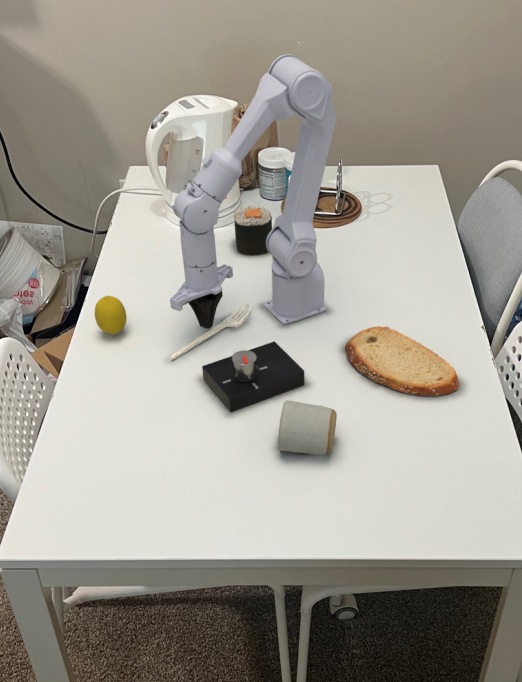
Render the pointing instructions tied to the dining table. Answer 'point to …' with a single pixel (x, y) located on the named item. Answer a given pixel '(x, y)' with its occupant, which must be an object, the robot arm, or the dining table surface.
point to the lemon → (110, 315)
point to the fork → (217, 329)
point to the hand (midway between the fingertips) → (206, 326)
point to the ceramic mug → (306, 428)
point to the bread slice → (400, 363)
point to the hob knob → (244, 366)
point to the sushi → (252, 230)
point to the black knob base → (271, 380)
